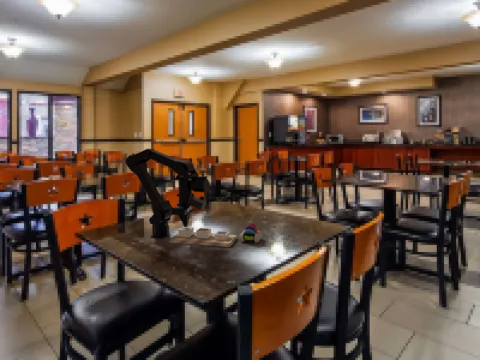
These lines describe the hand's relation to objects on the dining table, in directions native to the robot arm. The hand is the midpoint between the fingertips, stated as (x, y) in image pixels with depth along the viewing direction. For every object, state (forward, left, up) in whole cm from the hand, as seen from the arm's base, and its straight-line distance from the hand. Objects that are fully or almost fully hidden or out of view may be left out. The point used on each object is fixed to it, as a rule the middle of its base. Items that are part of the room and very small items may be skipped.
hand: (185, 226), depth 149 cm
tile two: (+8, 0, -4) cm, 9 cm away
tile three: (+16, 0, -5) cm, 17 cm away
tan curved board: (+8, 0, -5) cm, 10 cm away
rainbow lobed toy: (+28, +5, -6) cm, 29 cm away
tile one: (0, 0, -4) cm, 4 cm away
